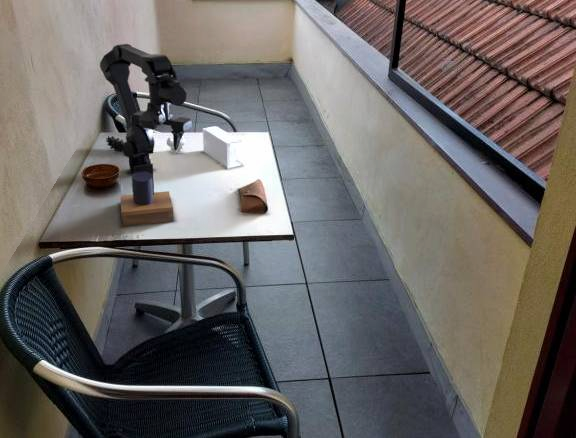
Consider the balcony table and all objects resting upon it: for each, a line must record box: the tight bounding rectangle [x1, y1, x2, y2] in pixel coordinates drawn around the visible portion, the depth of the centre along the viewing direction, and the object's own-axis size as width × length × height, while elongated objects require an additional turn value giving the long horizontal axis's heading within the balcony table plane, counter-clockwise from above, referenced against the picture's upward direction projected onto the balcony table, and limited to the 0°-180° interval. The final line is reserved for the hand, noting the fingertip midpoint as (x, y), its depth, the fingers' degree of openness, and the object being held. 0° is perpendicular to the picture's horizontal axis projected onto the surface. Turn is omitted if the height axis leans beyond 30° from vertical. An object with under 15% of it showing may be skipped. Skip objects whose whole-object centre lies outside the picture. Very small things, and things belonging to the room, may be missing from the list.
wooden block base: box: [119, 190, 175, 227], centre depth 160 cm, size 15×14×4 cm
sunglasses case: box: [237, 178, 269, 215], centre depth 169 cm, size 18×7×7 cm
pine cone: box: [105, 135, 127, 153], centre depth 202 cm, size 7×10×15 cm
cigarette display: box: [202, 125, 242, 170], centre depth 198 cm, size 20×6×9 cm, turn 34°
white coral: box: [166, 135, 186, 154], centre depth 203 cm, size 7×8×6 cm
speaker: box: [131, 163, 155, 205], centre depth 155 cm, size 8×6×10 cm
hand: (163, 147), depth 172 cm, fingers open, 9 cm apart
